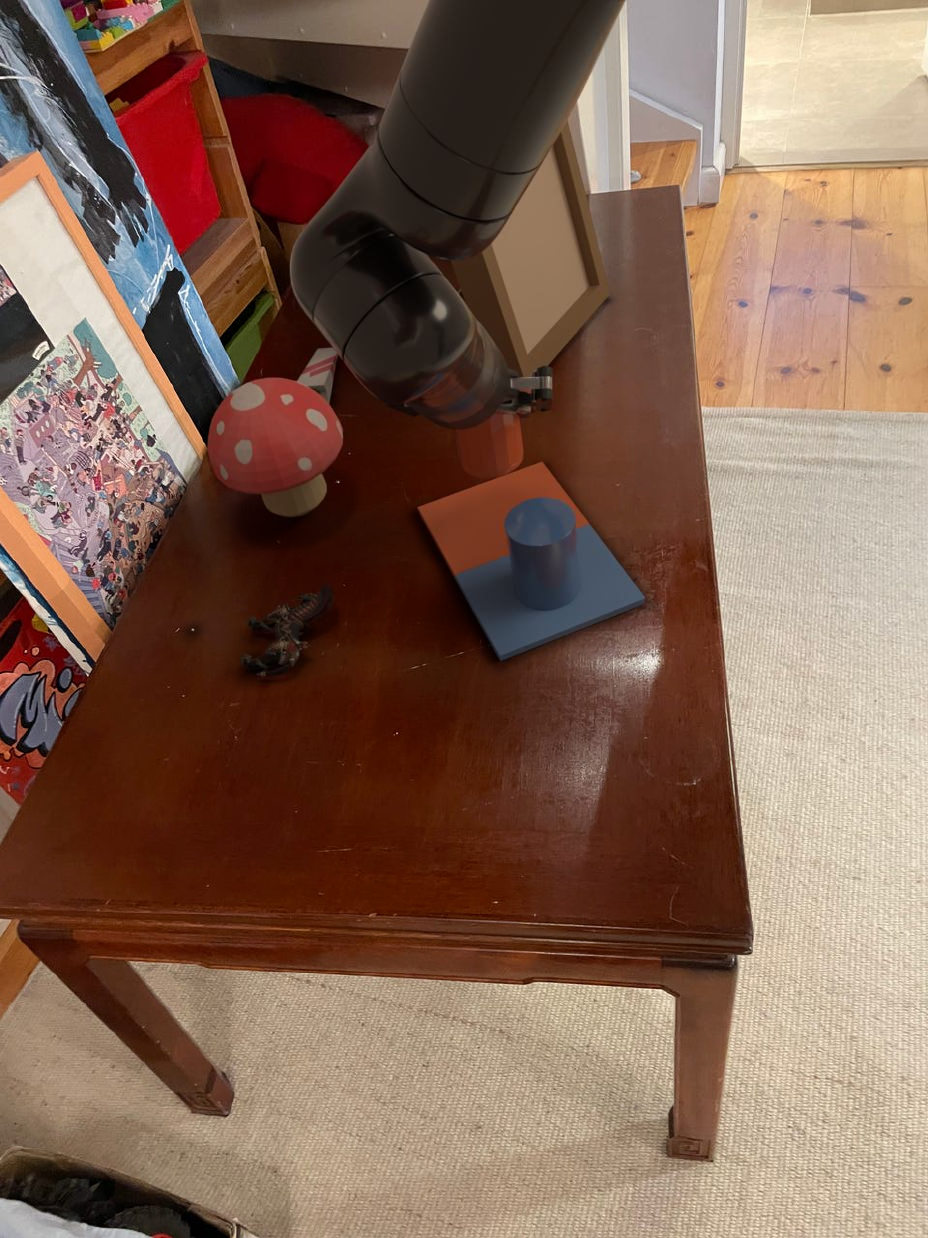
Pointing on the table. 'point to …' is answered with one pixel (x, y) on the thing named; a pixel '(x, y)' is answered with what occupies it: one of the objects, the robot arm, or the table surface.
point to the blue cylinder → (543, 553)
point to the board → (483, 567)
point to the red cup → (491, 446)
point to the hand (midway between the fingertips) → (488, 407)
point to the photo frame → (539, 267)
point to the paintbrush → (320, 372)
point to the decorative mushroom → (275, 443)
